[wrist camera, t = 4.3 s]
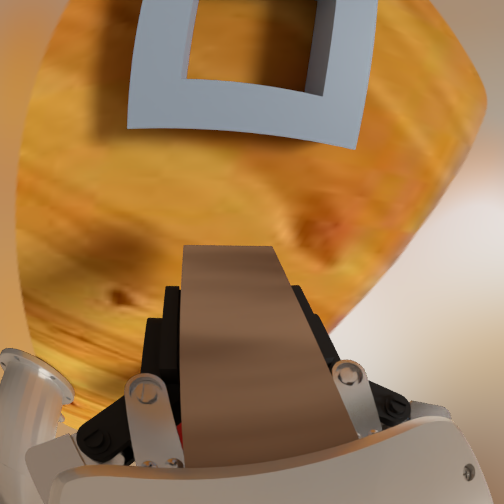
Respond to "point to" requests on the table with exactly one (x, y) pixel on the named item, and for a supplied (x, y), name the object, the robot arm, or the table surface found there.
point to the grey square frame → (252, 95)
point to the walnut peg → (250, 364)
